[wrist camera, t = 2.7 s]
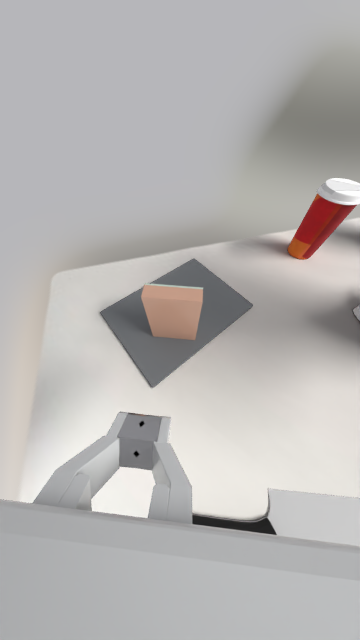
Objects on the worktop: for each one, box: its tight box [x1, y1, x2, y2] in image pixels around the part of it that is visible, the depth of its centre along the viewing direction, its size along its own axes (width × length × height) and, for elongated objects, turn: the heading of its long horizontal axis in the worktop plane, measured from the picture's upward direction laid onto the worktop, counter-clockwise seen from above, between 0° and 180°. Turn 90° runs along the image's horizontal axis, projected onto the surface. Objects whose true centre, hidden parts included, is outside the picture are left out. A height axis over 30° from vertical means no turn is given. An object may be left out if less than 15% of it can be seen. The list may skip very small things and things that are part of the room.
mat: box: [100, 259, 253, 388], centre depth 36 cm, size 26×19×1 cm
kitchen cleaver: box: [192, 489, 360, 546], centre depth 21 cm, size 31×2×10 cm
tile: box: [141, 283, 203, 340], centre depth 28 cm, size 2×8×12 cm, turn 84°
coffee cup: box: [288, 178, 360, 259], centre depth 40 cm, size 8×8×15 cm
